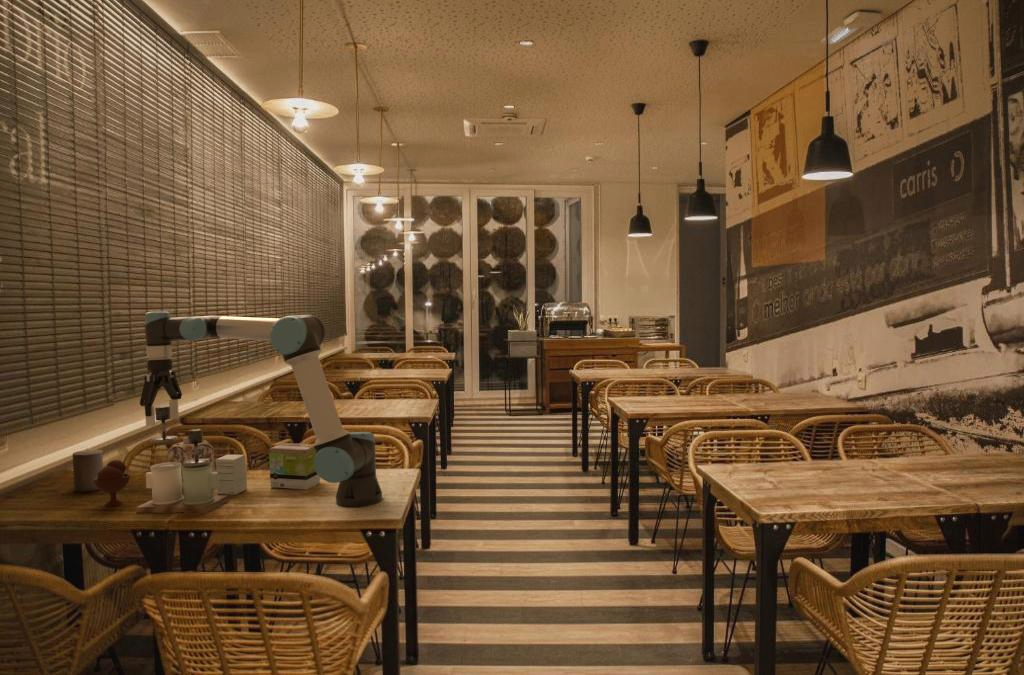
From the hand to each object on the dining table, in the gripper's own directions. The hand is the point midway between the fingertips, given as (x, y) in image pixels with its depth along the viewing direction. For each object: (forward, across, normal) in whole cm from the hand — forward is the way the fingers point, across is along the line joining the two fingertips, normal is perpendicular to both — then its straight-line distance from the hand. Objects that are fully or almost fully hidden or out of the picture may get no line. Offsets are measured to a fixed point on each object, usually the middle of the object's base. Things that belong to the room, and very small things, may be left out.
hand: (162, 422), depth 242 cm
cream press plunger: (+6, 0, 0) cm, 6 cm away
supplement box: (+28, -18, +14) cm, 36 cm away
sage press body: (+26, 0, +11) cm, 29 cm away
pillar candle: (+29, -22, -44) cm, 57 cm away
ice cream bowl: (+28, -2, -20) cm, 35 cm away
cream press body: (+26, 0, 0) cm, 26 cm away
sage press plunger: (+14, 0, +11) cm, 18 cm away
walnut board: (+28, 0, +6) cm, 29 cm away
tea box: (+28, -26, +34) cm, 51 cm away
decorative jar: (+28, -27, -6) cm, 40 cm away
